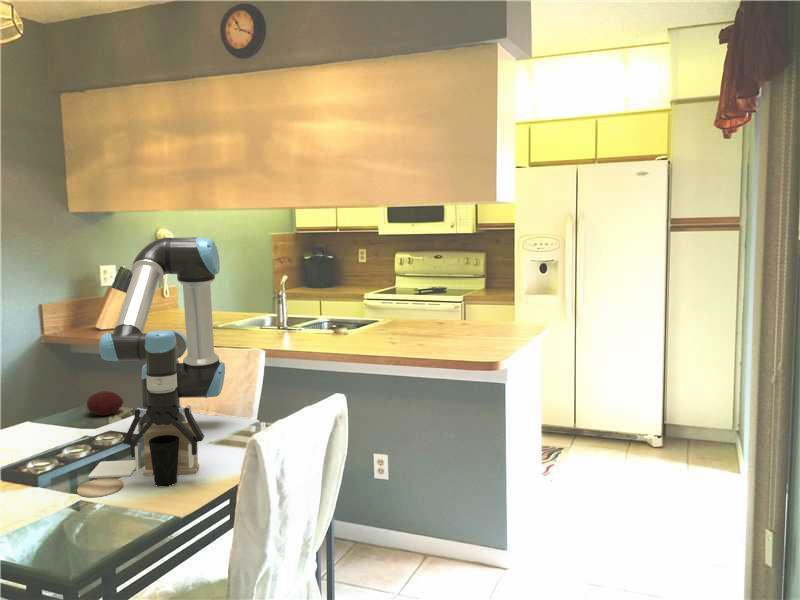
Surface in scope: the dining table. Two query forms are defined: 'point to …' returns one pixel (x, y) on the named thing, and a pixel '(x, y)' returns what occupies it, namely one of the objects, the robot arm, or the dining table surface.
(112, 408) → the potato
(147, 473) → the screen
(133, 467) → the stone coaster
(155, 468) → the cup
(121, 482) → the cork coaster
